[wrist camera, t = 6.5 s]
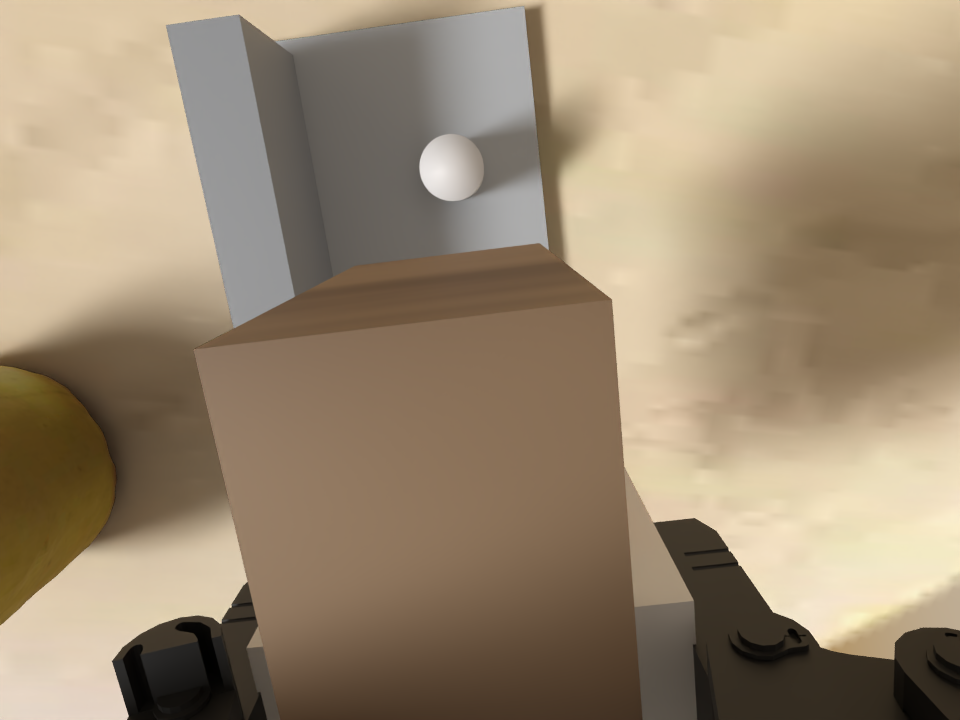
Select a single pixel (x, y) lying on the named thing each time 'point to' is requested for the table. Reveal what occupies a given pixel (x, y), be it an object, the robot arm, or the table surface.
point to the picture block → (433, 491)
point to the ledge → (359, 146)
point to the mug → (46, 483)
